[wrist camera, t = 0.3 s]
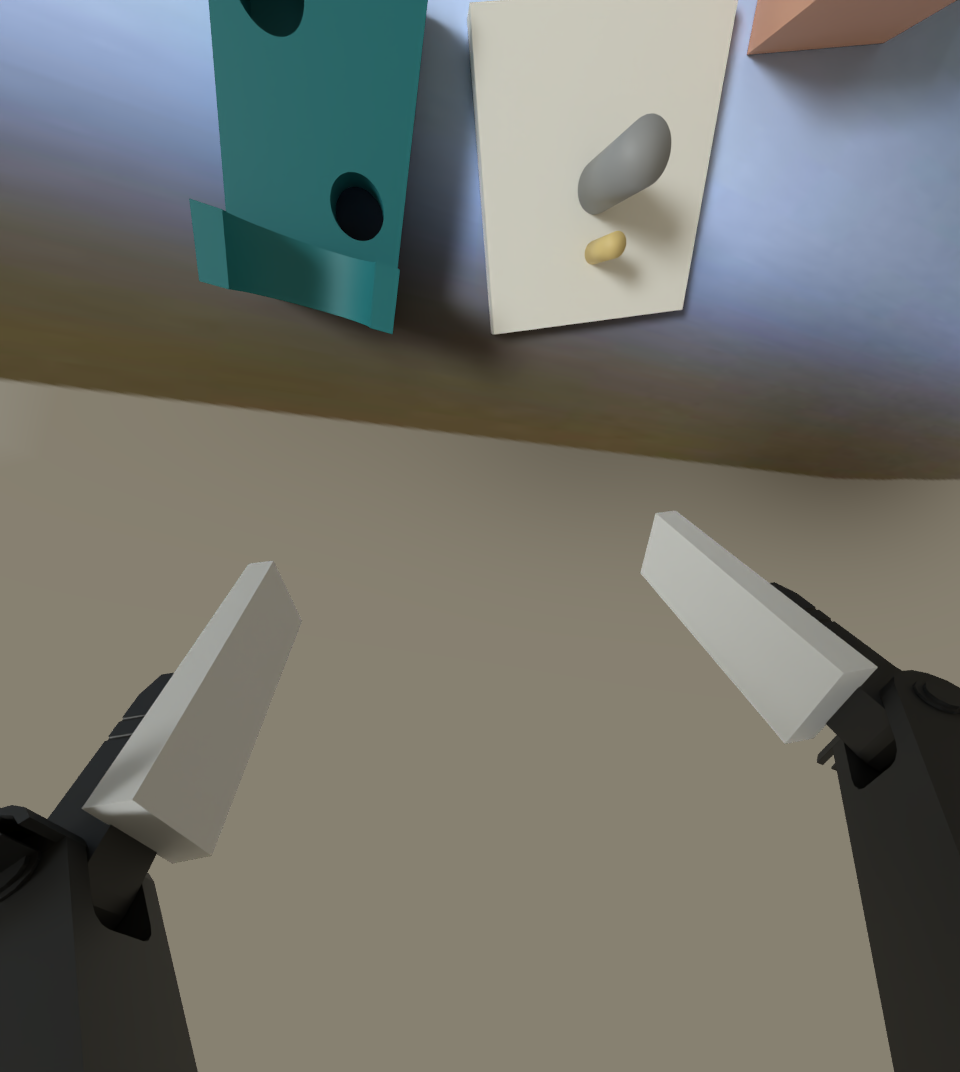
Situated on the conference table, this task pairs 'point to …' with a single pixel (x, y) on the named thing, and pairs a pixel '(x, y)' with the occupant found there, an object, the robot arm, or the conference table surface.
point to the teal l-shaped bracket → (311, 149)
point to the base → (593, 151)
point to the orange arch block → (833, 22)
